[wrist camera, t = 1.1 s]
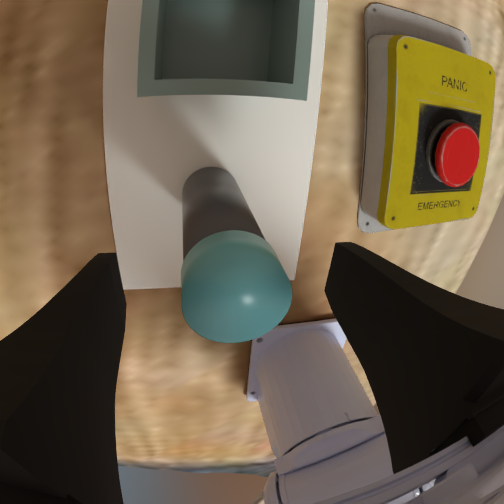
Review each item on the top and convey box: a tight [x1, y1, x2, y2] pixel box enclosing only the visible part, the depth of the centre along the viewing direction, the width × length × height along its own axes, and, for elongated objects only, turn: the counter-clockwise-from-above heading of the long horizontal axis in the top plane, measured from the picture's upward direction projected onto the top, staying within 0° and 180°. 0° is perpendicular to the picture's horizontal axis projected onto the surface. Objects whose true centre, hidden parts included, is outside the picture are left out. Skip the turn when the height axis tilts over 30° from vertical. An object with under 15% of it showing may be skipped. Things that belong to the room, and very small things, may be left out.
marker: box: [181, 167, 292, 343], centre depth 13 cm, size 3×3×9 cm
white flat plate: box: [103, 0, 328, 290], centre depth 15 cm, size 18×11×1 cm, turn 176°
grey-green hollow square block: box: [137, 0, 315, 101], centre depth 10 cm, size 6×6×4 cm
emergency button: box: [357, 3, 495, 233], centre depth 15 cm, size 9×4×15 cm
